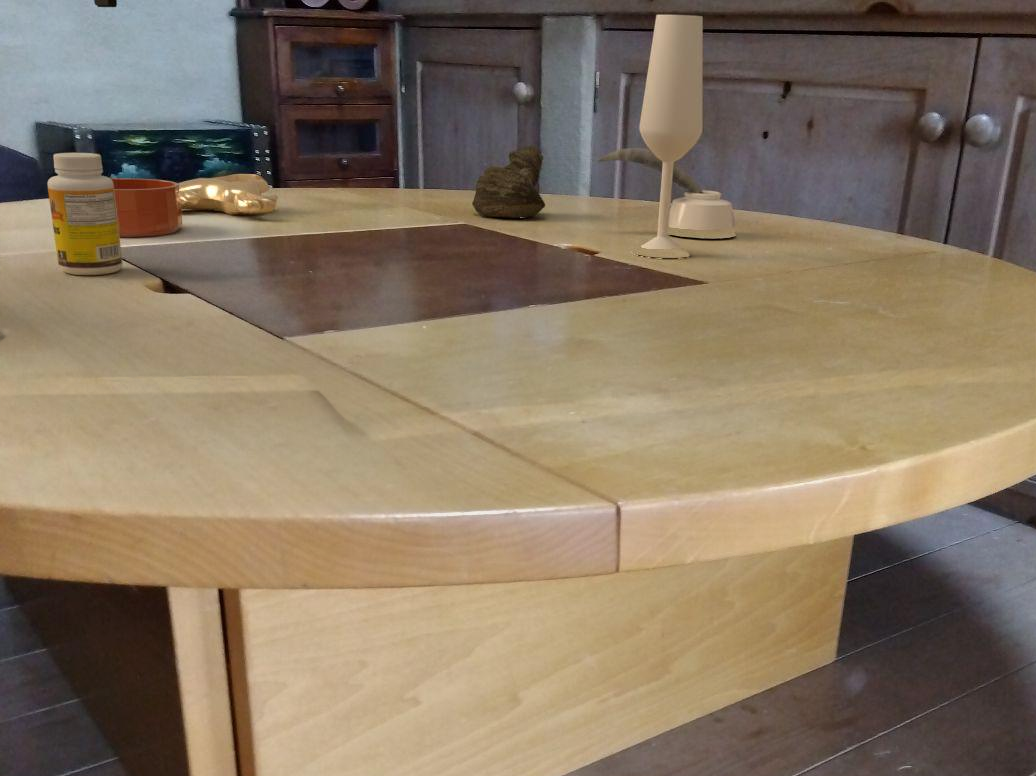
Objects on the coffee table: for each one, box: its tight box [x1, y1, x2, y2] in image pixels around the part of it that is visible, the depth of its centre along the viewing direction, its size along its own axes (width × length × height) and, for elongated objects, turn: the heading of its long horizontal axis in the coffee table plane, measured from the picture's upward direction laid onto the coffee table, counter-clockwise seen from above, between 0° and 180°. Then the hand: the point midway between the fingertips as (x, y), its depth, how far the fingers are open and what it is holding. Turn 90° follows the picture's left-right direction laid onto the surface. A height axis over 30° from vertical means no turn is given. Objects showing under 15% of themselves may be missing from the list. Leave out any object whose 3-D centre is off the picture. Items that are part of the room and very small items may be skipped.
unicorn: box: [177, 173, 279, 215], centre depth 141 cm, size 20×4×17 cm
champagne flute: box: [630, 14, 704, 260], centre depth 120 cm, size 7×7×24 cm
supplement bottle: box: [47, 152, 123, 276], centre depth 102 cm, size 6×6×10 cm
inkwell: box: [596, 147, 736, 230], centre depth 137 cm, size 9×18×10 cm, turn 100°
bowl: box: [110, 177, 183, 238], centre depth 126 cm, size 11×11×5 cm
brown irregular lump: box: [471, 145, 546, 219], centre depth 147 cm, size 11×12×10 cm
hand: (51, 3), depth 96 cm, fingers open, 9 cm apart
